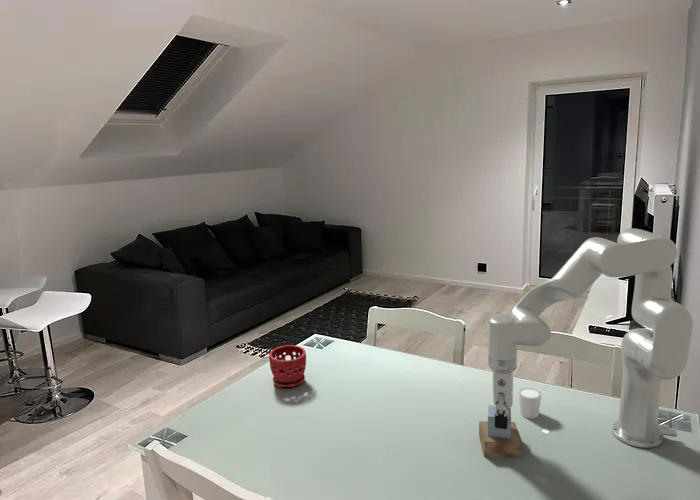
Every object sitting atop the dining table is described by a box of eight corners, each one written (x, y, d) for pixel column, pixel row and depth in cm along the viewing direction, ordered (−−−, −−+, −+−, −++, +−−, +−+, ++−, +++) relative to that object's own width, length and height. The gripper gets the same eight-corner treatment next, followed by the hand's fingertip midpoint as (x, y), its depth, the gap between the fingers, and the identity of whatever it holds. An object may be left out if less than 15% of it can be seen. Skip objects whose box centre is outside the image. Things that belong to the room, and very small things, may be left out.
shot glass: (542, 420, 157) (543, 399, 156) (518, 418, 159) (519, 397, 157) (538, 408, 164) (539, 388, 162) (516, 407, 165) (516, 387, 164)
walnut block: (514, 437, 150) (514, 422, 149) (521, 458, 140) (522, 442, 139) (479, 436, 151) (479, 421, 150) (484, 457, 141) (484, 441, 140)
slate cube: (510, 426, 146) (510, 407, 145) (510, 438, 141) (511, 418, 139) (488, 424, 148) (488, 405, 147) (487, 435, 142) (488, 416, 141)
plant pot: (263, 385, 186) (261, 354, 183) (288, 371, 196) (285, 342, 194) (291, 395, 179) (289, 362, 176) (314, 379, 189) (313, 349, 186)
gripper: (516, 377, 130) (515, 437, 134) (517, 349, 146) (516, 404, 150) (486, 374, 133) (485, 434, 137) (489, 347, 149) (489, 401, 153)
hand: (501, 418), depth 143 cm, fingers open, 9 cm apart
